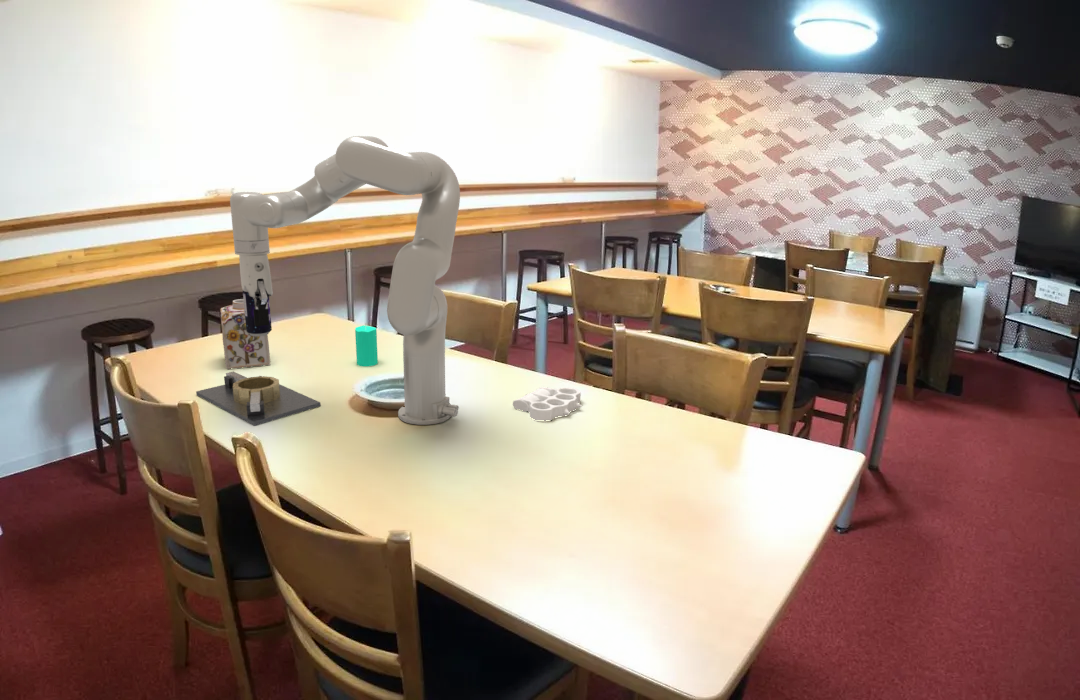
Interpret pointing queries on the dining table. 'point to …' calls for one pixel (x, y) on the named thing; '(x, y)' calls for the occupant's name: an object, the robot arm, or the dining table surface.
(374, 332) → the candle
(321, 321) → the dining table surface
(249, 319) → the beverage can
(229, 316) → the decorative jar
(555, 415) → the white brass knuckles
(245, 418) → the grey plate with collar
